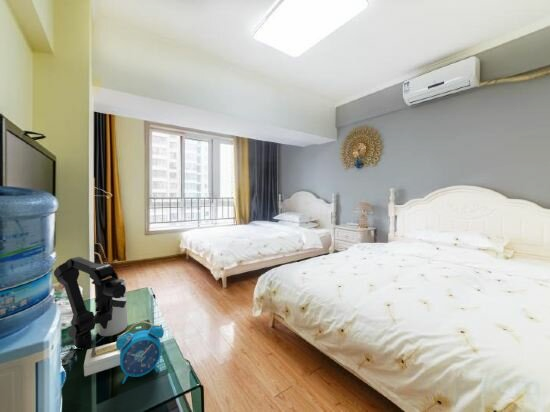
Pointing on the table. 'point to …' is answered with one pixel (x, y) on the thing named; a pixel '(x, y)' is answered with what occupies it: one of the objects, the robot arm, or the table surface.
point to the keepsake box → (100, 360)
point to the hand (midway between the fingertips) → (105, 328)
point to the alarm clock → (140, 350)
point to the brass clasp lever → (106, 349)
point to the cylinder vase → (116, 319)
